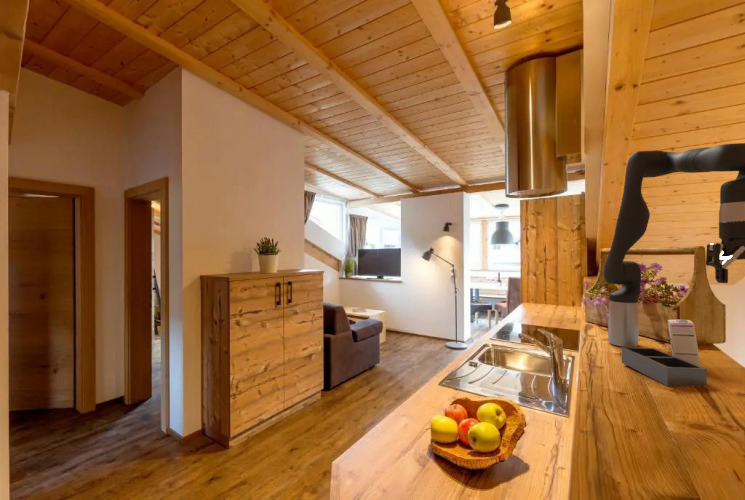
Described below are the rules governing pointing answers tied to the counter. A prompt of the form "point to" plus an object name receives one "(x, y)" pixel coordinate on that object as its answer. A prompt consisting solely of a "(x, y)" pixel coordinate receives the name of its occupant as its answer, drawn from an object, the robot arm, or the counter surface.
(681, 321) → the syrup box
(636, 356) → the caddy
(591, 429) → the counter surface
